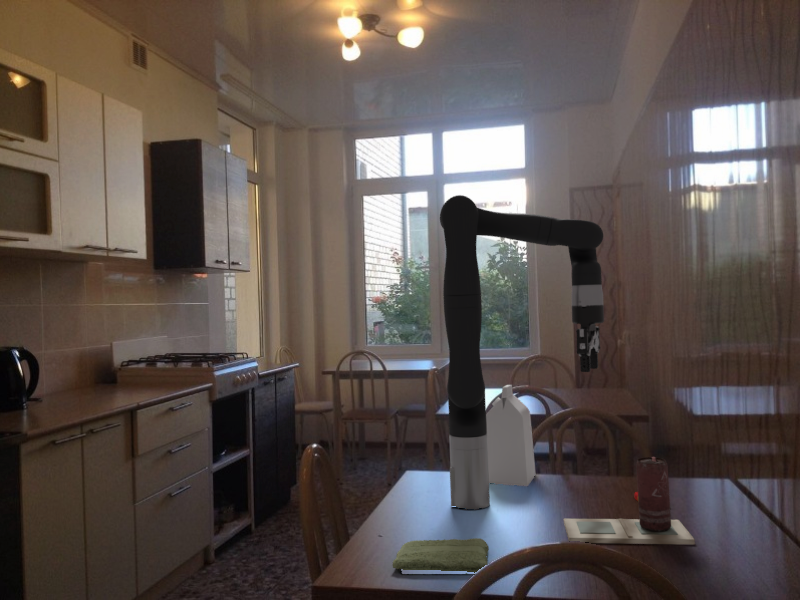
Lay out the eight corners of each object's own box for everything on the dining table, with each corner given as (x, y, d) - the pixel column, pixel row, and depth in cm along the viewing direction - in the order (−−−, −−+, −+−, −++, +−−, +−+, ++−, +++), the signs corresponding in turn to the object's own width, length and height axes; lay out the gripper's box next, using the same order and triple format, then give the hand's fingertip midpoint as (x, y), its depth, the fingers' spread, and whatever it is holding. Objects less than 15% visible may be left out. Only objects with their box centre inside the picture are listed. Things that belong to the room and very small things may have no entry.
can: (670, 523, 137) (666, 456, 137) (672, 533, 131) (668, 463, 131) (639, 521, 139) (635, 455, 139) (640, 531, 133) (636, 462, 133)
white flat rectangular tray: (569, 542, 131) (568, 536, 131) (563, 523, 143) (563, 517, 143) (694, 544, 128) (694, 537, 128) (678, 524, 139) (678, 518, 140)
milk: (527, 486, 174) (523, 388, 174) (485, 483, 178) (481, 388, 178) (535, 475, 185) (531, 383, 185) (495, 472, 189) (492, 383, 190)
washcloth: (401, 551, 132) (400, 535, 132) (489, 552, 129) (488, 536, 129) (391, 577, 119) (390, 560, 119) (489, 579, 116) (488, 561, 116)
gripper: (579, 304, 168) (581, 367, 167) (564, 304, 155) (566, 372, 155) (609, 303, 164) (611, 367, 164) (596, 303, 151) (599, 373, 151)
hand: (589, 370), depth 159 cm, fingers open, 8 cm apart
